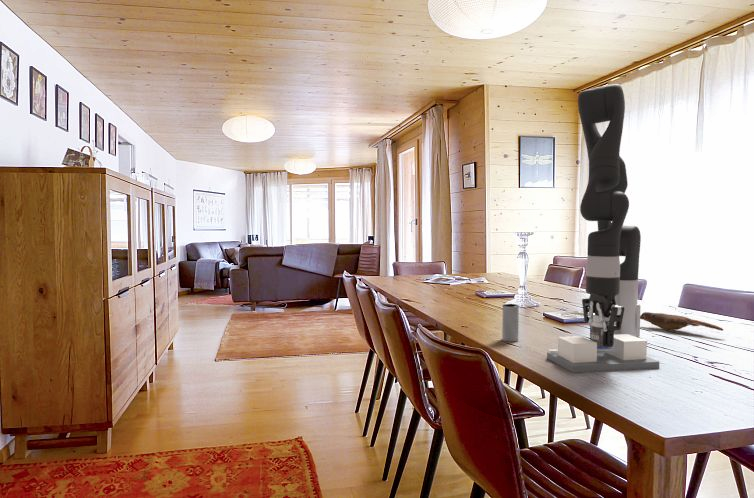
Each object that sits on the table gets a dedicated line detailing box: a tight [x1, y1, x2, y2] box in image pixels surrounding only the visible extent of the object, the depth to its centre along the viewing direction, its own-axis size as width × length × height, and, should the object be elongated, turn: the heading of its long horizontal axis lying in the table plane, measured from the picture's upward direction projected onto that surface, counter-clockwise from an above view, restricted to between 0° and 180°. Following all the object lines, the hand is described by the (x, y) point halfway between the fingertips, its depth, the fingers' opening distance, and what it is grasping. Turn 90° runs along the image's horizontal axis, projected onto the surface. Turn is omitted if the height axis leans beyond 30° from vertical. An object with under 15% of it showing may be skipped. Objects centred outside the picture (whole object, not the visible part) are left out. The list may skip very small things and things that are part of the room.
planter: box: [501, 303, 520, 343], centre depth 144 cm, size 4×4×10 cm
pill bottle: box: [591, 314, 612, 351], centre depth 120 cm, size 5×5×8 cm
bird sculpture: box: [640, 311, 724, 332], centre depth 155 cm, size 7×25×5 cm, turn 41°
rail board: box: [546, 334, 660, 373], centre depth 120 cm, size 22×12×6 cm, turn 99°
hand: (601, 343), depth 120 cm, fingers closed on pill bottle, 4 cm apart
